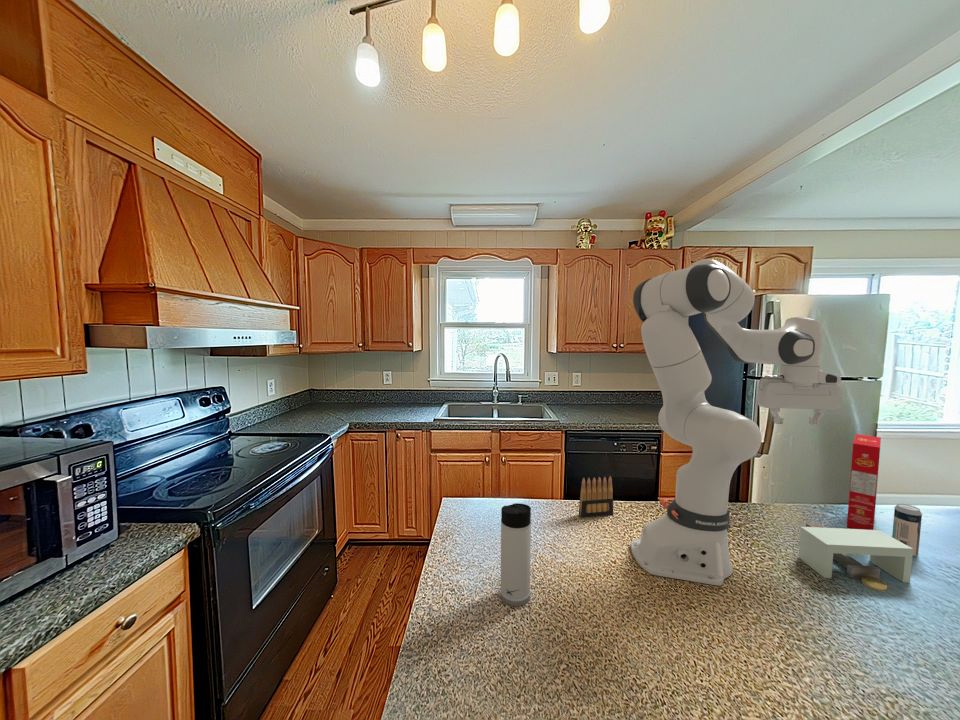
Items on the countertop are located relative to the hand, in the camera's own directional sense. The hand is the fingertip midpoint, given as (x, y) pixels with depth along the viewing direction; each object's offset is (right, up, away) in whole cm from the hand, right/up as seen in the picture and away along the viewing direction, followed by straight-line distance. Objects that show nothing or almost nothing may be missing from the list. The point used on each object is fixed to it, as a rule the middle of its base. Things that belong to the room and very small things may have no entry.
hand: (796, 424), depth 107 cm
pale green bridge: (-1, -32, -17) cm, 36 cm away
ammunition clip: (-54, -30, +10) cm, 62 cm away
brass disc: (-2, -33, -23) cm, 40 cm away
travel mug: (-82, -33, -27) cm, 92 cm away
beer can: (+20, -32, -10) cm, 38 cm away
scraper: (-1, -32, -13) cm, 34 cm away
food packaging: (+24, -31, +5) cm, 39 cm away
